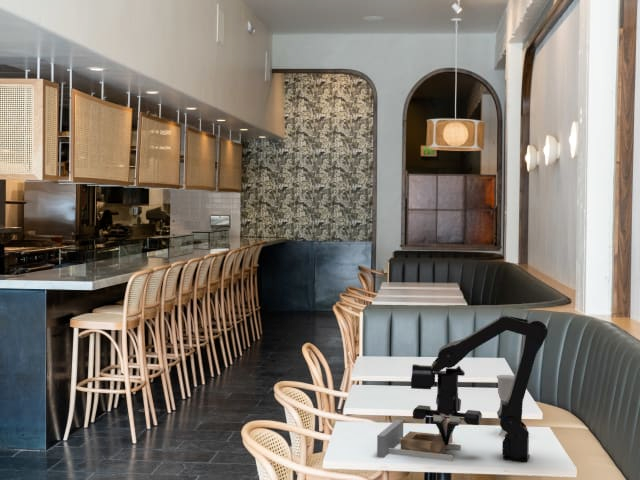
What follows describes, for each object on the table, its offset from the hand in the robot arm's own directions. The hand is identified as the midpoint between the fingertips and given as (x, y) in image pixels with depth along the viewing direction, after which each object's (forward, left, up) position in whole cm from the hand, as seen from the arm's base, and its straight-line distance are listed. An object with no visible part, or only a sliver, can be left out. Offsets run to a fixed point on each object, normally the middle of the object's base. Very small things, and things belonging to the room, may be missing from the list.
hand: (446, 445), depth 228 cm
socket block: (+7, 0, -3) cm, 7 cm away
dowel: (+3, -13, -3) cm, 14 cm away
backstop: (+7, 0, -3) cm, 8 cm away
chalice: (-13, -28, -3) cm, 31 cm away
